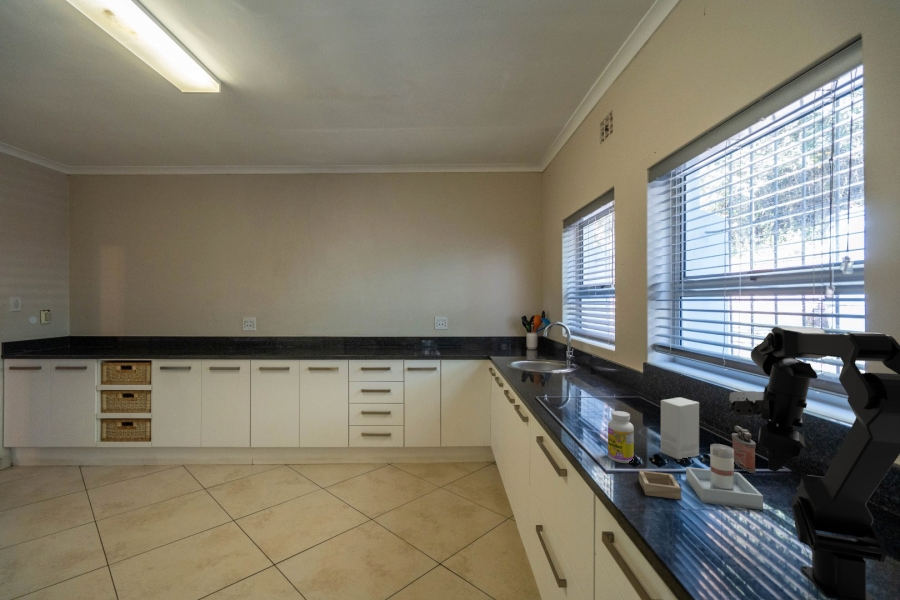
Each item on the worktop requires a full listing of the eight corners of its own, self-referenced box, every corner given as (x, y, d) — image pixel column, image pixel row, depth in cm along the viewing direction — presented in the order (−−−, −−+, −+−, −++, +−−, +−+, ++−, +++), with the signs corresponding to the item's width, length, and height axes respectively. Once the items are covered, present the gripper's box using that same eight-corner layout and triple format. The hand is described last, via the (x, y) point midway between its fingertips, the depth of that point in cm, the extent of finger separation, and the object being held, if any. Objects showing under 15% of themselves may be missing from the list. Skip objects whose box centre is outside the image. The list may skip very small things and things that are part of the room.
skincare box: (680, 448, 114) (680, 396, 114) (701, 456, 108) (701, 402, 108) (659, 452, 111) (659, 399, 111) (679, 461, 105) (679, 405, 105)
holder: (681, 499, 85) (681, 488, 85) (645, 494, 87) (645, 484, 87) (671, 484, 92) (671, 474, 92) (639, 480, 94) (639, 470, 94)
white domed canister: (733, 497, 84) (733, 453, 84) (709, 491, 87) (709, 448, 87) (733, 489, 88) (733, 446, 88) (710, 484, 90) (710, 442, 90)
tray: (763, 510, 81) (763, 496, 80) (703, 502, 84) (703, 488, 84) (738, 485, 91) (738, 472, 91) (686, 479, 94) (686, 467, 94)
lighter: (759, 473, 97) (759, 434, 97) (744, 472, 98) (744, 433, 98) (742, 460, 105) (742, 424, 105) (728, 459, 106) (728, 423, 106)
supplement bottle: (602, 456, 108) (602, 411, 108) (619, 452, 111) (619, 408, 111) (622, 465, 102) (622, 418, 102) (639, 461, 105) (639, 415, 105)
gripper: (738, 362, 85) (727, 422, 89) (732, 397, 71) (719, 467, 75) (805, 374, 78) (790, 439, 82) (813, 416, 64) (794, 492, 69)
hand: (772, 457), depth 77 cm, fingers open, 9 cm apart
